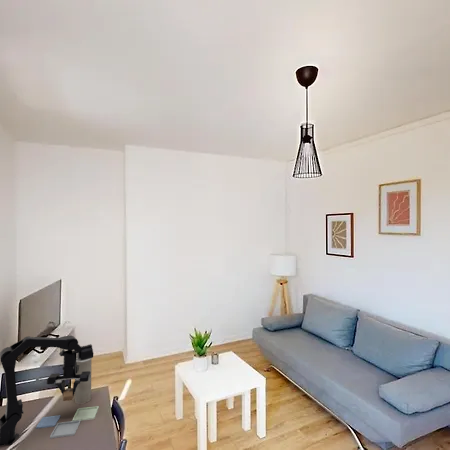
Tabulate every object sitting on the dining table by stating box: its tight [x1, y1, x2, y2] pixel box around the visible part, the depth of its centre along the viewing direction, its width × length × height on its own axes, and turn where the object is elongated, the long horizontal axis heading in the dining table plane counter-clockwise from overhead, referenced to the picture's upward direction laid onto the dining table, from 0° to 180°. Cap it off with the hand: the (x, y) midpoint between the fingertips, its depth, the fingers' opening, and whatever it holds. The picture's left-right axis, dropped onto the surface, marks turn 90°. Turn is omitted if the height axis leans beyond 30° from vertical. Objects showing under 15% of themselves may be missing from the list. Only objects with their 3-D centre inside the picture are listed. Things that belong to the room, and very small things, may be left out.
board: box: [35, 414, 61, 429], centre depth 144 cm, size 8×8×1 cm
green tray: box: [71, 405, 100, 421], centre depth 150 cm, size 10×10×1 cm
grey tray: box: [49, 420, 81, 440], centre depth 138 cm, size 10×10×1 cm
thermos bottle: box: [74, 358, 92, 405], centre depth 165 cm, size 8×8×28 cm
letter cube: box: [62, 387, 75, 402], centre depth 148 cm, size 4×4×4 cm
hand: (68, 395), depth 148 cm, fingers closed on letter cube, 4 cm apart
